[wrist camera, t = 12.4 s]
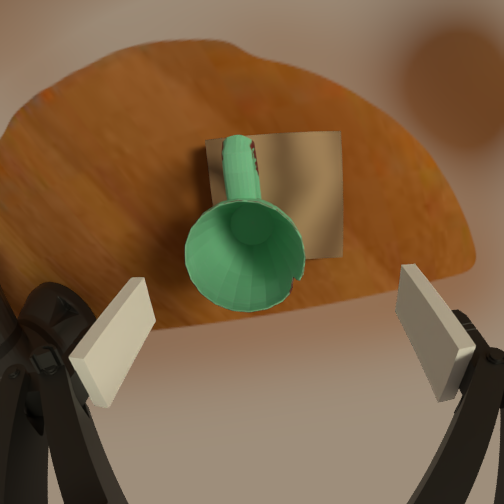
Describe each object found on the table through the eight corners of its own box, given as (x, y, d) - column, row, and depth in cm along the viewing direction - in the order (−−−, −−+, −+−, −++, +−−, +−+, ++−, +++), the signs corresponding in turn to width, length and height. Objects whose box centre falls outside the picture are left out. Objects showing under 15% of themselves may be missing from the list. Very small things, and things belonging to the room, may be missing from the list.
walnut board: (224, 252, 40) (220, 263, 37) (210, 138, 35) (205, 140, 32) (338, 247, 38) (342, 257, 36) (335, 130, 33) (340, 131, 30)
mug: (298, 262, 36) (306, 310, 27) (213, 267, 37) (194, 314, 28) (292, 130, 31) (300, 130, 22) (197, 138, 32) (167, 143, 23)
